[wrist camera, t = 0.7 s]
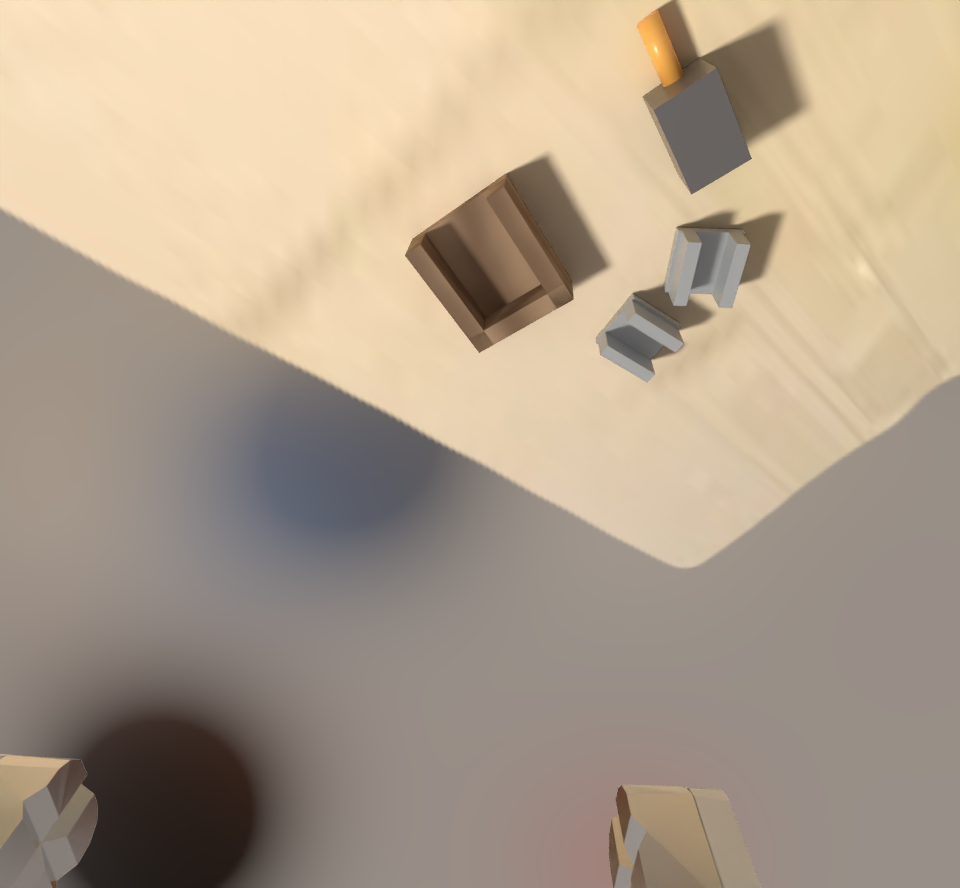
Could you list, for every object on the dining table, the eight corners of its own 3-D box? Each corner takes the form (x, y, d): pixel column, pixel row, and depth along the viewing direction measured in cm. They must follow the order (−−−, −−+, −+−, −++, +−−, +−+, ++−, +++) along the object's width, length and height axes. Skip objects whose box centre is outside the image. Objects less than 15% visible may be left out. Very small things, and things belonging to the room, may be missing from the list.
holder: (505, 173, 44) (503, 187, 42) (571, 280, 49) (573, 299, 46) (412, 239, 48) (405, 255, 45) (482, 332, 53) (479, 352, 50)
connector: (674, -6, 37) (690, -2, 33) (731, 141, 42) (751, 158, 38) (615, 38, 39) (624, 46, 35) (677, 174, 44) (691, 194, 40)
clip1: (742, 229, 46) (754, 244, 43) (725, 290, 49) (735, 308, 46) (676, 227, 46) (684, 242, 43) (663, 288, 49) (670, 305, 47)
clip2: (632, 293, 50) (637, 310, 47) (678, 322, 51) (685, 341, 48) (595, 338, 52) (598, 356, 50) (640, 365, 54) (645, 384, 51)
